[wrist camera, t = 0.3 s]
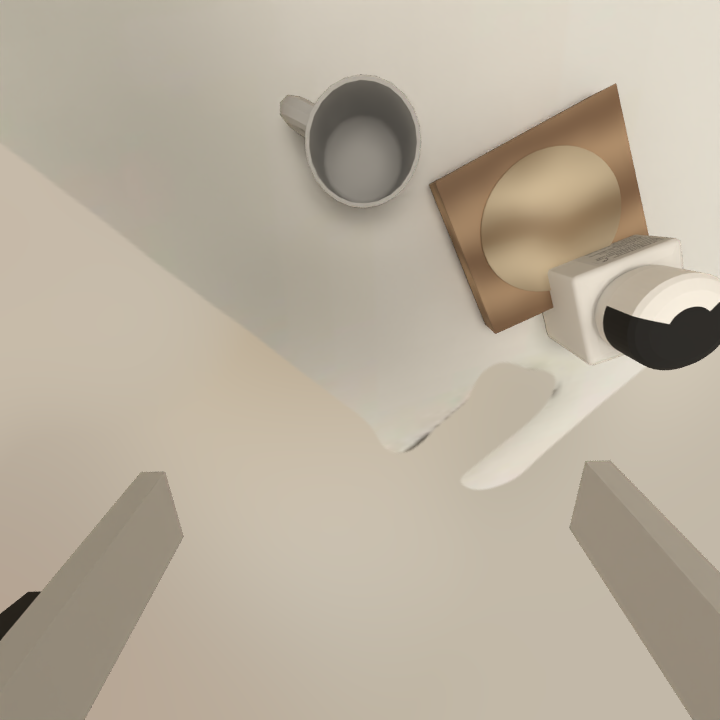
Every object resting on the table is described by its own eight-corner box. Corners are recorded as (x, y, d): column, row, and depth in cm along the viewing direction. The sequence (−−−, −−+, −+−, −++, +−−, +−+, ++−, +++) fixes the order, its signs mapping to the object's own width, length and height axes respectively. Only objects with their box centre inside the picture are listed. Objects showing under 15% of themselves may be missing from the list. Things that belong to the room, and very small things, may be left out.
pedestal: (429, 184, 32) (436, 181, 29) (592, 95, 29) (618, 82, 26) (485, 324, 37) (496, 335, 34) (630, 257, 34) (656, 262, 31)
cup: (379, 223, 33) (385, 228, 25) (276, 165, 32) (245, 149, 23) (421, 140, 31) (443, 115, 23) (311, 73, 29) (291, 19, 21)
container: (627, 308, 36) (758, 358, 24) (547, 337, 37) (634, 399, 25) (615, 230, 33) (756, 243, 21) (529, 264, 35) (617, 294, 23)
